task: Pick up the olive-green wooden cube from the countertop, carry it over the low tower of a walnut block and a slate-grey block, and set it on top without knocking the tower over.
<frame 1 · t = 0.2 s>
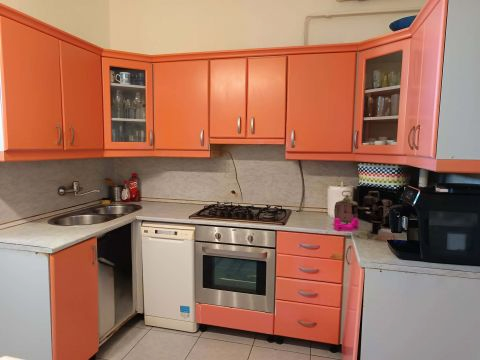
hand: (362, 212, 182), 16 cm above the countertop, tool horizontal, fingers open, 9 cm apart
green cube: (364, 238, 190), on the countertop
tower base: (386, 240, 186), on the countertop
tower top: (386, 235, 186), point 2 cm above the countertop
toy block: (346, 230, 210), on the countertop
tabletop clock: (346, 226, 220), on the countertop
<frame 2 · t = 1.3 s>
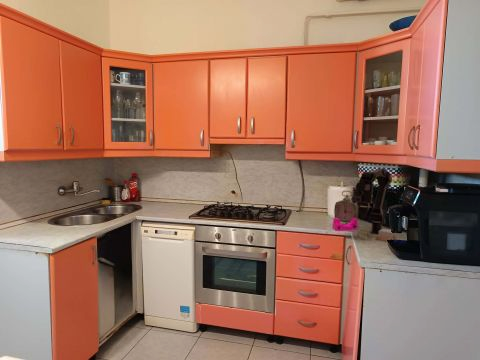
hand: (364, 218, 188), 12 cm above the countertop, tool pointing down, fingers open, 9 cm apart
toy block: (345, 230, 210), on the countertop, touching tabletop clock
tabletop clock: (346, 226, 220), on the countertop, touching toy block
everything else where it was.
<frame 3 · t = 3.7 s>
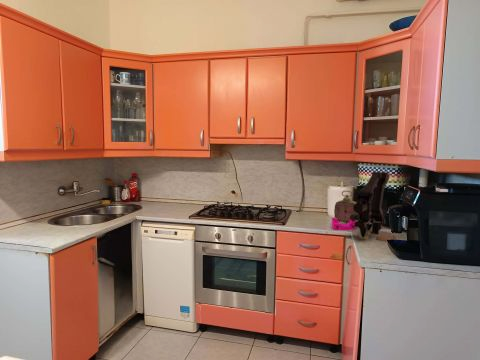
hand: (364, 236, 190), 1 cm above the countertop, tool pointing down, fingers closed on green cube, 4 cm apart
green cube: (364, 237, 190), on the countertop, touching gripper
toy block: (344, 229, 211), on the countertop
tabletop clock: (346, 226, 220), on the countertop
everything else where it was.
when the fingers open (8 cm above the countertop, at t = 7.4 s): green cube drops 2 cm, point 5 cm above the countertop.
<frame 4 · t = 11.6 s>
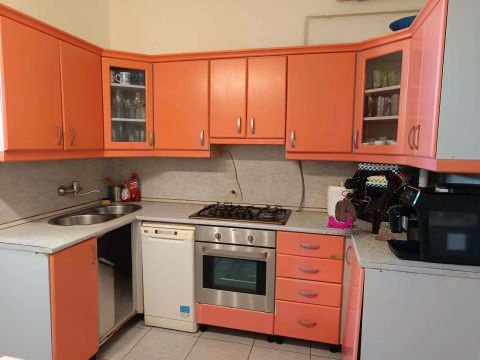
hand: (360, 213, 198), 13 cm above the countertop, tool pointing down, fingers open, 9 cm apart
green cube: (385, 230, 186), point 5 cm above the countertop
tower base: (385, 240, 187), on the countertop, touching tower top
tower top: (385, 235, 186), point 2 cm above the countertop, touching tower base
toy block: (339, 228, 215), on the countertop
at the end: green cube 0.2 cm off-centre on the tower top, point 3.0 cm above the tower top's base; tower top 0.1 cm off-centre on the tower base, point 3.0 cm above the tower base's base; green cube tilted 0° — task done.
